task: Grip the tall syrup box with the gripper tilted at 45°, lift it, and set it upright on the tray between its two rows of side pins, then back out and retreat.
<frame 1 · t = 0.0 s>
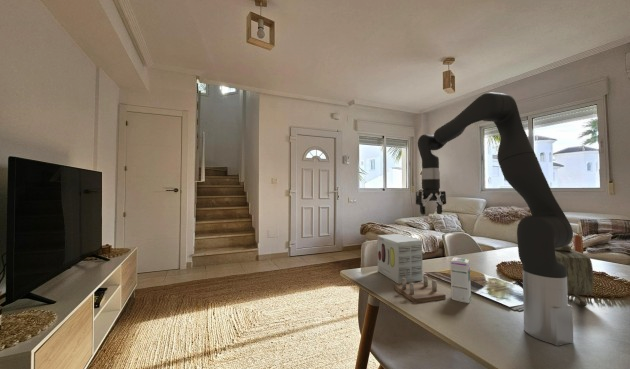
hand: (431, 214, 114), 29 cm above the table, tool pointing down, fingers open, 8 cm apart
syrup box: (461, 299, 93), on the table
supplement box: (398, 276, 119), on the table
pin tray: (419, 293, 98), on the table
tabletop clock: (562, 299, 92), on the table
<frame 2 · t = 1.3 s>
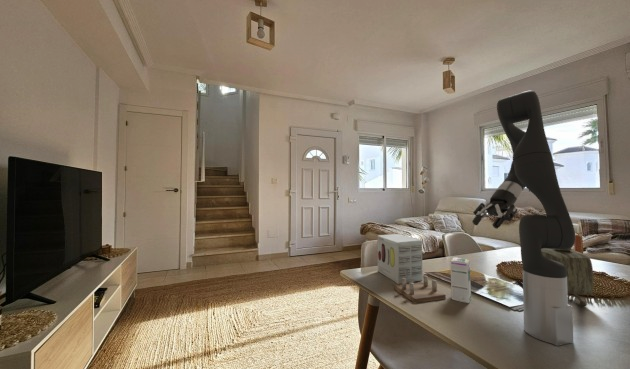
hand: (484, 225, 97), 27 cm above the table, tool tilted 45°, fingers open, 8 cm apart
nothing on the table moved.
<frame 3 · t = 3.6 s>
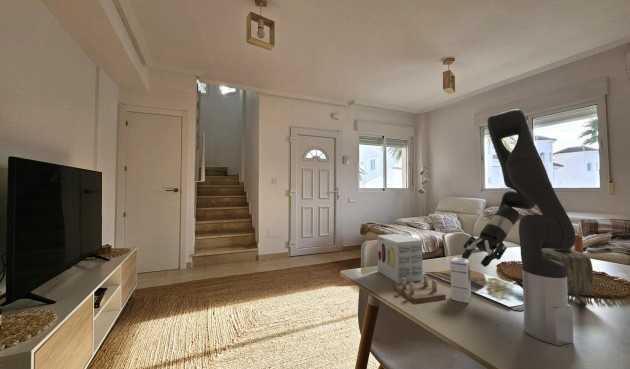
hand: (473, 261, 95), 13 cm above the table, tool tilted 45°, fingers open, 8 cm apart
nothing on the table moved.
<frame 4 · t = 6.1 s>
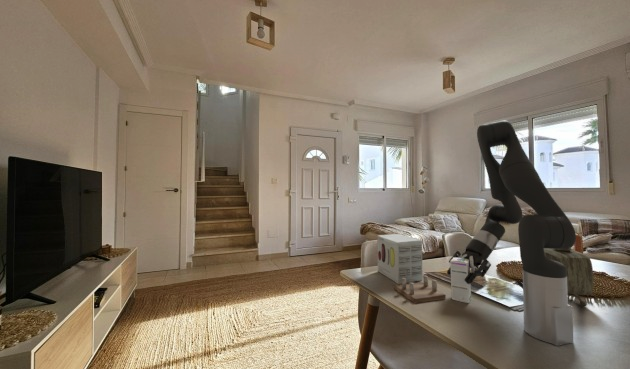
hand: (457, 278, 93), 8 cm above the table, tool tilted 45°, fingers closed on syrup box, 7 cm apart
syrup box: (461, 299, 93), on the table, touching gripper
everything else where it was.
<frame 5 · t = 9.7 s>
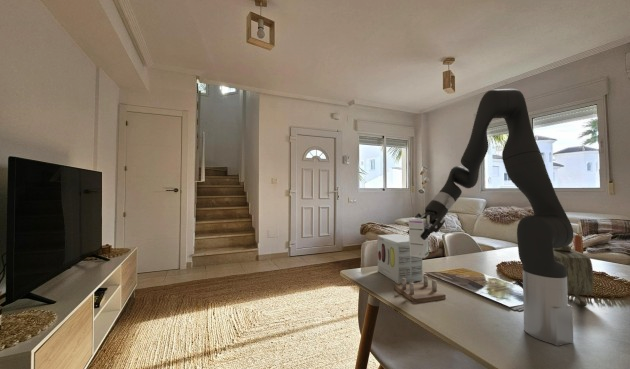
hand: (415, 236, 98), 22 cm above the table, tool tilted 45°, fingers closed on syrup box, 7 cm apart
syrup box: (419, 256, 99), point 15 cm above the table, touching gripper
everything else where it was.
when the fingers open (11 cm above the table, at t = 13.4 s): syrup box drops 2 cm, resting on pin tray.
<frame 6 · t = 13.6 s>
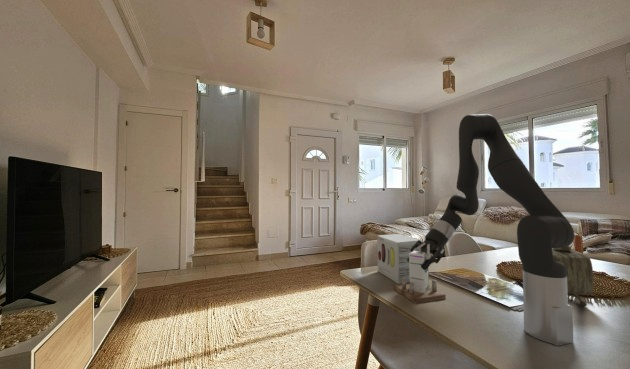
hand: (415, 265, 98), 11 cm above the table, tool tilted 45°, fingers open, 8 cm apart
syrup box: (419, 290, 98), point 1 cm above the table, touching gripper, pin tray
everything else where it was.
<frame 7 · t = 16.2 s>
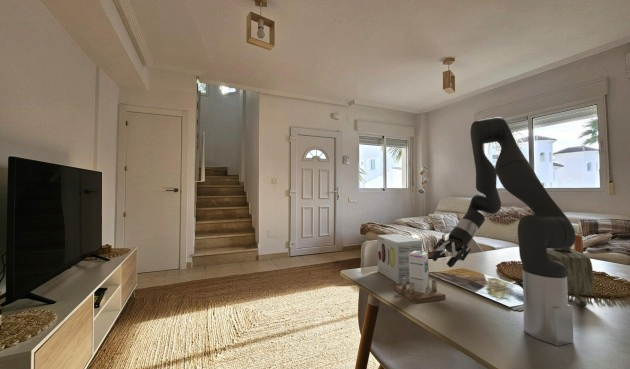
hand: (440, 262, 101), 11 cm above the table, tool tilted 45°, fingers open, 8 cm apart
syrup box: (419, 290, 99), point 1 cm above the table, touching pin tray
everything else where it was.
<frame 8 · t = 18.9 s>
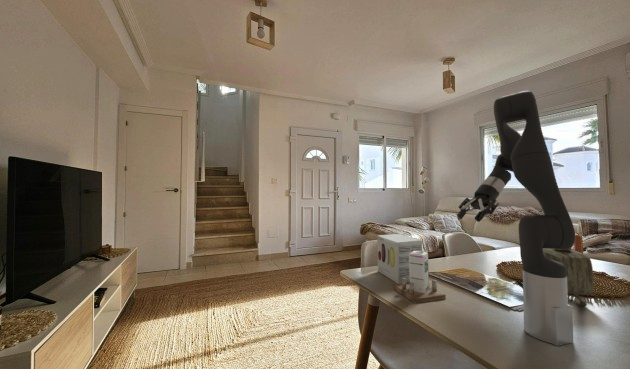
hand: (467, 218, 101), 29 cm above the table, tool tilted 45°, fingers open, 8 cm apart
nothing on the table moved.
at the end: syrup box 0.4 cm off-centre on the pin tray, point 1.3 cm above the pin tray's base; syrup box tilted 0°; the gripper is holding nothing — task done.
